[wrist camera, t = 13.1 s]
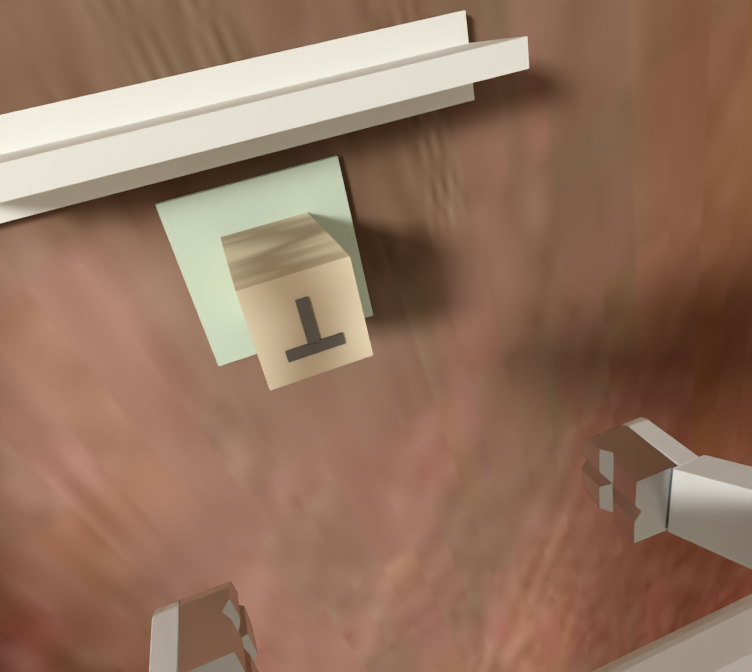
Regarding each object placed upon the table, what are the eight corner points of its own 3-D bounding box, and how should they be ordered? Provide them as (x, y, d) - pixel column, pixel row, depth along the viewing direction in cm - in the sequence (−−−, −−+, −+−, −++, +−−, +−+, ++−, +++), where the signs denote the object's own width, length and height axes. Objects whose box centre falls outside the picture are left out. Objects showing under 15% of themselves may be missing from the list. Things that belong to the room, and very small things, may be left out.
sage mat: (335, 155, 28) (337, 156, 28) (371, 312, 32) (373, 315, 32) (155, 203, 26) (155, 205, 26) (218, 362, 30) (218, 366, 30)
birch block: (307, 212, 28) (350, 256, 21) (328, 291, 30) (373, 356, 23) (220, 237, 27) (235, 292, 20) (247, 317, 29) (270, 391, 22)
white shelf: (457, 11, 27) (525, -4, 22) (467, 99, 29) (531, 104, 24) (-79, 132, 22) (-155, 149, 17) (-26, 227, 24) (-80, 268, 19)
